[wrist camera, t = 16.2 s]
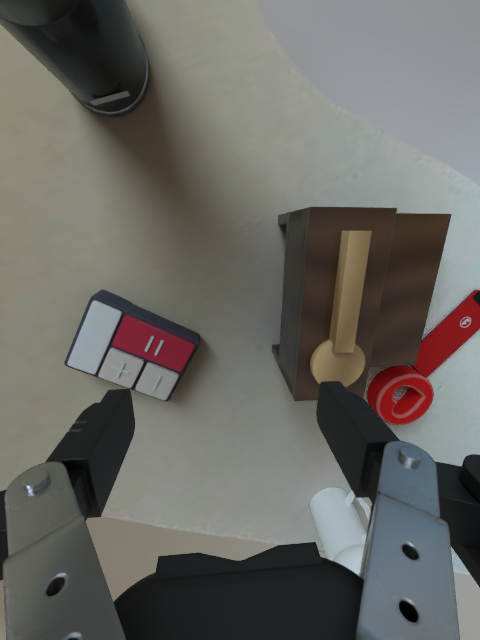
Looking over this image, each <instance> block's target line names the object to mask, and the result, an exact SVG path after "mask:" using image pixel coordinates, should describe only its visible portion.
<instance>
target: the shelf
mask: <svg viewBox="0 0 480 640" xmlns="http://www.w3.org/2000/svg"><path fill="white" fill-rule="evenodd" d="M396 211H397V208H362V207H309V208H304V209H300V210H296V211H292V212H289V213H285V214H281V215H278V224H282V225H287V230H286V247H285V264H284V282H283V299H282V316H281V333H280V344H279V345H272V353H273V355H274V357H275V359H276V361H277V363H278V366H279V368H280V370H281V372H282V374H283V377H284V379H285V381H286V383H287V385H288V387H289V390H290V392H291V394H292V396H293V398H294V400H295V401H307V400H318V394H319V386H320V384H319V383H318V382H317V381H316V380H315V378H314V377H313V375H312V373H311V370H310V359H311V356H312V354H313V352H314V351H315V349H316V348H317V347H318V346H319V345H320V344H322V343H323V342H325V341H327V340H329V335H330V327H331V318H332V310H333V301H334V293H335V284H336V276H337V267H338V259H339V250H340V242H341V233H342V231H372V233H371V240H370V246H369V253H368V259H367V266H366V273H365V279H364V286H363V292H362V299H361V306H360V312H359V319H358V325H357V332H356V339H355V344H357V345H358V346H359V347H360V348H361V350H362V351H363V353H364V356H365V366H364V370H363V372H362V374H361V375H360V377H359V378H358V379H357V380H356V381H355V382H354V383H352V384H351V385H349V386H347V387H345V388H346V389H347V390H348V392H354V393H355V394H357V395H358V396H360V397H361V398H363V397H364V392H365V386H366V380H367V375H368V369H369V367H379V366H407V365H416V361H417V357H418V353H419V348H420V344H421V340H422V336H423V332H424V327H425V323H426V319H427V315H428V311H429V306H430V302H431V298H432V294H433V290H434V285H435V281H436V277H437V273H438V269H439V264H440V260H441V256H442V252H443V248H444V244H445V239H446V235H447V231H448V227H449V223H450V218H451V214H409V213H396Z"/></svg>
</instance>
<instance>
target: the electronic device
mask: <svg viewBox="0 0 480 640" xmlns="http://www.w3.org/2000/svg"><path fill="white" fill-rule="evenodd" d="M479 329H480V290H475V291H473V292H472V293H471V294H470V295H469V296H468V297H467V298H466V299H465V300H464V301H463V302H462V303H461V304H460V305H459V306H458V307H457V308H456V309H455V310H454V311H453V312H451V313H450V314H449V315H448V316H447V317H446V318H445V319H444V320H443V321H442V322H441V323H440V324H439V325H438V326H437V327H436V328H435V329H434V330H433V331H432V332H431V333H430V334H429V335H427V336H426V337H425V338H424V339H423V340H422V341H421V344H420V348H419V353H418V357H417V361H416V365H411V366H412V367H414V368H415V369H416V370H417V371H418V372H419V373H420V374H421V375H422V376H424V377H428V376H429V375H430V374H431V373H432V372H433V371H434V370H435V369H436V368H437V367H438V366H440V365H441V364H442V363H443V362H444V361H445V360H446V359H447V358H448V357H449V356H450V355H451V354H453V353H454V352H455V351H456V350H457V349H458V348H459V347H460V346H461V345H462V344H463V343H465V342H466V341H467V340H468V339H469V338H470V337H471V336H472V335H473V334H474V333H475V332H476V331H478V330H479Z"/></svg>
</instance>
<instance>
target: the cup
mask: <svg viewBox="0 0 480 640" xmlns="http://www.w3.org/2000/svg"><path fill="white" fill-rule="evenodd" d="M354 497H356V496H355V495H354V493H353V491H351V492H350V493H349V494H348V493H347V492H346V491H345V490H343V489H341V488H337V487H330V488H325V489H323V490H320V491H319V492H317V493H316V494H315V495H314V496H313V497H312V499H311V501H310V506H309V507H310V510H311V513H312V516H313V519H314V522H315V525H316V528H317V531H318V534H319V537H320V540H321V543H322V546H323V549H324V552H325V554H326V557H327V559H329V560H332V561H335V562H337V563H339V564H341V565H343V566H345V567H346V568H348V569H350V570H351V571H353V572H354V573H356V574H357V575H359V573H360V568H361V562H362V557H363V551H364V545H365V540H366V534H367V531H366V529H365V527H364V525H363V523H362V521H361V519H360V517H359V515H358V513H357V511H356V509H355V507H354V505H353V503H352V501H353V499H354ZM356 499H357V500H358V502H359V503H360V504H361V506H362V507H363V508H364V510H365V513H366V515H367V518H368V521H369V517H370V509H369V507H368V505H367V504H366V503H365V501H364V500H363V499H362V498H356Z"/></svg>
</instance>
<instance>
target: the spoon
mask: <svg viewBox="0 0 480 640" xmlns="http://www.w3.org/2000/svg"><path fill="white" fill-rule="evenodd" d="M371 233H372V231H342V233H341V242H340V250H339V259H338V267H337V276H336V284H335V293H334V301H333V310H332V318H331V327H330V335H329V340H327V341H325V342H323V343H322V344H320V345H319V346H318V347H317V348H316V349H315V351H314V352H313V354H312V356H311V359H310V370H311V373H312V375H313V377H314V378H315V380H316V381H317V382H318V383H319V384H320V383H321V382H323V381H340V382H341V383H342V384H343V385H344V387H347V386H349V385H351V384H352V383H354V382H355V381H356V380H357V379H358V378H359V377H360V375H361V374H362V372H363V370H364V366H365V356H364V353H363V351H362V350H361V348H360V347H359V346H358V345H357V344H355V339H356V332H357V325H358V319H359V312H360V306H361V299H362V292H363V286H364V279H365V273H366V266H367V259H368V253H369V246H370V240H371Z"/></svg>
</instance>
